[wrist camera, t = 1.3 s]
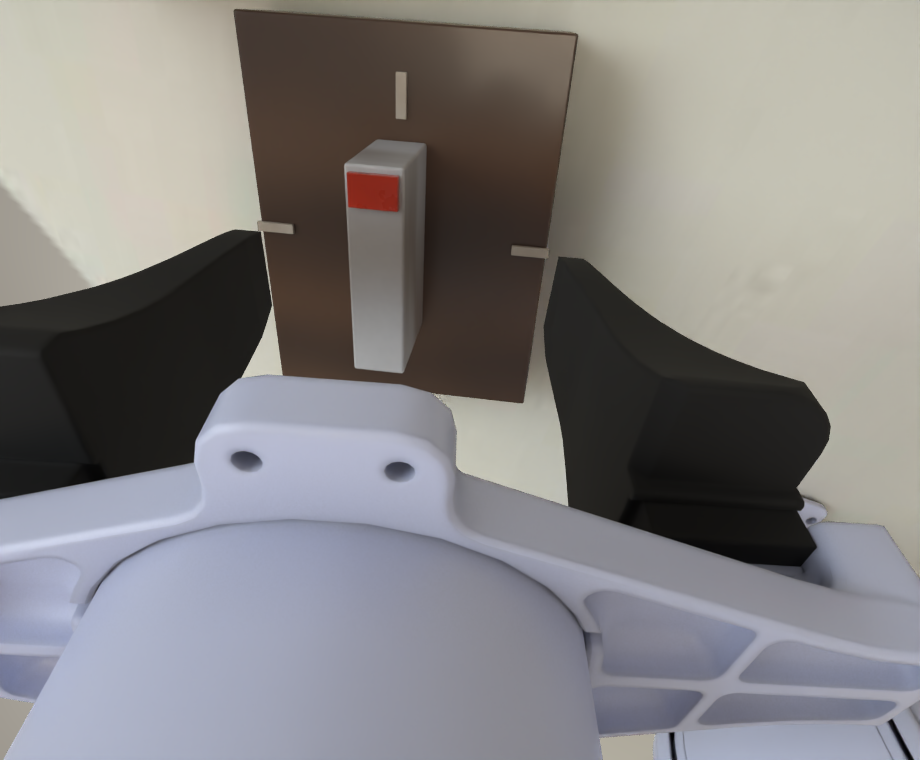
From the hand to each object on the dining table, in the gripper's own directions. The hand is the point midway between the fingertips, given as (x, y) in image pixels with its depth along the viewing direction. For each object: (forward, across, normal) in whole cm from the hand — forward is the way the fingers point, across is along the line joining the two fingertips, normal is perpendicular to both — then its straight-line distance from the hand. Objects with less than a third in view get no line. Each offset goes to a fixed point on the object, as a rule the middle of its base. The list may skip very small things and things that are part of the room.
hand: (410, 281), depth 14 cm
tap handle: (+8, +1, +3) cm, 8 cm away
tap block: (+11, +1, +3) cm, 11 cm away
